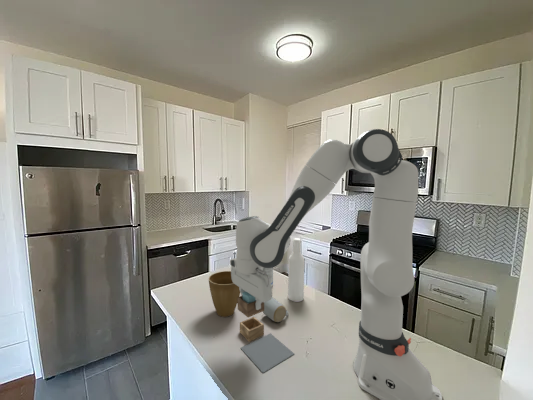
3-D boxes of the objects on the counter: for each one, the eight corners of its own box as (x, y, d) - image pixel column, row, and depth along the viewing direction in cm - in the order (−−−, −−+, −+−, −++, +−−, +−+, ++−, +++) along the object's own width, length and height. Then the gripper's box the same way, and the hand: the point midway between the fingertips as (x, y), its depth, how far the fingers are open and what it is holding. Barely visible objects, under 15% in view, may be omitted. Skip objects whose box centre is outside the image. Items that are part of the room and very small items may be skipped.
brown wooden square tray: (264, 310, 79) (264, 298, 78) (247, 317, 75) (247, 305, 74) (253, 303, 84) (253, 291, 84) (237, 309, 80) (237, 297, 80)
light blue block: (259, 309, 79) (258, 293, 78) (249, 313, 76) (248, 296, 76) (252, 304, 82) (252, 289, 82) (242, 308, 80) (242, 292, 79)
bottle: (303, 302, 111) (304, 241, 109) (287, 301, 112) (288, 240, 110) (303, 294, 119) (305, 237, 117) (288, 293, 120) (289, 236, 118)
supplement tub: (276, 285, 130) (276, 259, 129) (264, 290, 123) (264, 263, 122) (264, 280, 137) (264, 255, 136) (252, 285, 130) (252, 259, 129)
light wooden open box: (263, 335, 87) (263, 324, 87) (249, 342, 83) (249, 331, 83) (253, 326, 92) (253, 316, 92) (239, 333, 88) (239, 322, 88)
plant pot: (222, 326, 92) (222, 287, 91) (202, 312, 102) (201, 277, 101) (249, 311, 103) (250, 276, 102) (228, 300, 113) (228, 268, 112)
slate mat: (294, 354, 77) (294, 353, 77) (262, 373, 69) (262, 372, 69) (270, 334, 87) (270, 333, 87) (240, 348, 80) (240, 347, 80)
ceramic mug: (274, 326, 92) (274, 307, 92) (261, 317, 99) (262, 299, 98) (292, 317, 99) (293, 300, 99) (279, 309, 105) (280, 292, 105)
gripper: (276, 270, 72) (277, 313, 73) (242, 255, 88) (243, 290, 89) (259, 275, 68) (261, 321, 69) (227, 259, 84) (228, 295, 85)
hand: (250, 303), depth 79 cm, fingers closed on brown wooden square tray, 7 cm apart
